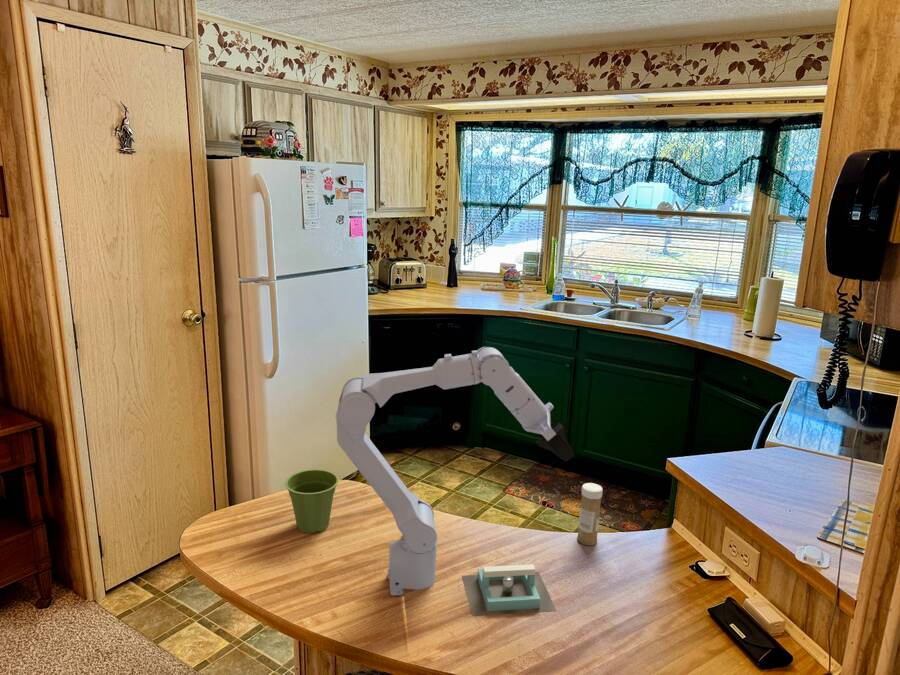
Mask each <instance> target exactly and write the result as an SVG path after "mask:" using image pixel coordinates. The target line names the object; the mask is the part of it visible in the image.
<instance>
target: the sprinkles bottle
mask: <svg viewBox="0 0 900 675" xmlns="http://www.w3.org/2000/svg"><path fill="white" fill-rule="evenodd" d="M603 491H604V490H603V486H601V485H600V484H597V483H593V482H585V483H583V485H582V486H581V500H580V501H581V502H580V506H579V507H580V509H579V518H578V532H577V537H576V539H577V542H579V543H580V544H582V545H585V546H594V545H596V544H597V542H598V531H599V525H600V524H599V522H600V512H601V502H602V497H603V493H604V492H603Z"/></svg>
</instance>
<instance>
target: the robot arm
mask: <svg viewBox="0 0 900 675" xmlns="http://www.w3.org/2000/svg"><path fill="white" fill-rule="evenodd" d="M443 357H444V358H443ZM443 357H442V358H438V359H436V360H437V361H436V362H435V363H434V364H433V365H432V366H427V367H421V368H412V369H410V368H409V369H404V370H395V371H387V372H379V373H378V372H375V373H367V374H364V375H363V376H355V377H352V378H350V379H349V380H347V381H346V382H345V384H344V385H343V387H342V390H341V393H340V396H339V399H338V406H337V410H336V414H335V420H336V440H337V443H338V446H339V447H340V448H341V450H342V451H343V452H344V453H345V455H346V456H347V457H348V459H349V460H350V461H351V463H352V464H353V465H354V466H355V468H357V470H358V471H359V473H360V474H361V475H362V476H363V478H364V480H366V482H367V484H369V485H370V486H371V488H372V490H374V491H375V493H376V494H377V496H378V497H379V498H380V500H381V501H382V502H383V504H384V505H385V506H386V507H387V508H388V510H389V511H390V512H391V514H392V516H393V518H394V522H395V524H396V526H397V529H398V530H399V531H400V533H401V534H402V535H401V536H400V539H398V540H395V541H390V542H389V550H388V551H389V554H388V555H389V557H388V569H387V579H389V580H388V581H389V582H388V583H389V592H390V595H391V596H392V597H393V596H394V597H395V596H405V592H404V589H407V590H414V591H415V590H416V591H419V590H426V589H428V588H430V587H432V586H433V584H434V583H435V581H436V575H437V574H436V570H437V553H438V552H437V550H438V549H437V548H438V540H437V539H438V533H437V532H436V527H435V519H434V516H435V514H434V509H433V507H432V506H431V504H429V503H428V502H426V501H424V500H422V499H420V498H419V496H418V495H417V494H416V493H414V492H412V491H410V489H408V487H407V486H406V485H405V484H404V482H403V481H402V479H401V478H400V477H399V476H398V474H397V473H396V472H395V470H394V469H393V467H392V466H391V465H390V464H389V462H388V461H387V460H386V458H385V457H384V456H383V454H382V453H381V452H380V450H379V449H378V448H377V447H376V445H375V444H374V442H372V440H371V439H370V437H369V436H368V434H367V433H366V430H367V426H368V424H370V422H371V420H372V418H374V415H375V413H376V412H375V411H376V405H375V404H377V405H378V406H379V408H382V407H384V406H385V404H386V403H387V402H388V401H389V399H390V398H391V397H392V396H393V395H395V394H399V393H404V392H408V391H409V392H410V391H413V390H416V389H417V390H418V389H422V388H425V387H430V386H434V385H435V386H438V387H439V388H441V389H442V390H450V389H456V388H460V387H466V386H467V387H468V386H472V385H479V384H480V383H483V384H484V385H485V386H489V387H490V388H491V389H492V390H493V393H494V395H495V396H496V397H497V398H498V399H499V400H500V401H501V403H502V404H503V405H504V406H505V407H506V408H507V409H508V411H509V412H510V413H511V414H512V415H513V417H514V418H515V419H516V420H517V421H518V422H519V424H520V425H521V427H522V428H523V430H524V431H526V432H528V433H534V434H537V435H538V436H540V437H539V438H538V439H536V440H535V442H536V444H537V445H538V447H540V448H542V449H545V450H548V451H550V452H552V453H553V454H554V455H556V456H557V457H558V458H560V459H561V460H563V461H564V462H565V463H567V462H568V461H569V460H571V459H572V458H573V457H575V452H574V451H573V449H572V447H571V445H570V443H569V442H568V440H567V437H566V434H565V429H564V426H563V425H562V424H561V423H557V425H555V426H554V423H553V422H552V420H551V411H552V410H553V409H554V405H553V404H552V403H551V402H550V401H549V402H547V403H546V404H545V403H544V402H543V401H542V400H541V399H540V398H539V397H538V396H537V394H536V393H535V392H534V391H533V390H532V388H531V387H530V386H529V385H528V384H527V383H526V381H525V380H524V379H523V378H522V377H521V376H520V374H519V373H517V371H515V369H514V368H513V367H512V366H510V362H509V361H508V360H507V359H506V358H505V357H504V355H503V353H501V352H500V351H499V350H498V349H497V348H495V347H491V346H483V347H480V348H478V349H477V350H471V353H466V354H461V355H455V356H452V353H445V354H444V356H443Z"/></svg>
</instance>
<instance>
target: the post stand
mask: <svg viewBox="0 0 900 675" xmlns="http://www.w3.org/2000/svg"><path fill="white" fill-rule="evenodd" d="M477 575H478V574H472V575H469V574H468V575H461V578H462V582H463V586H464V590H465V593H466V597H467V601H468V604H469V608H470V612H471V616H472V617H477V616H478V617H479V616H481V617H482V616H497V615H510V614H511V615H513V614H527V613H542V612H543V613H544V612H545V613H546V612H557V608H556V607H555V604H554V602H553V600H552V598H551V595H550V592H549V591H548V589H547V587H546V584H545V583H544V580H543V579H542V576H541V574H540V572H539V571H535V582H534V585H535V588H536V590H537V592H538V594H539V597H540V608H533V609H517V610H500V611H487V608H486V605H485V602H484V598H483V595H482V592H481V588H480V585H479V582H478V579H477ZM489 590H490V593H491V596H492V598H502V597H520V596H529V594H528V592H527V589H526V587H525V585H524V582H523V580H522V579H513V577H511V576H505V577H504V578H503V580H490V581H489Z"/></svg>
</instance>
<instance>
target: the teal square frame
mask: <svg viewBox="0 0 900 675" xmlns="http://www.w3.org/2000/svg"><path fill="white" fill-rule="evenodd" d="M535 572H536V566H535V564H531V563H530V564H514V565H512V564H510V565H509V564H508V565H493V566H491V565H490V566H482V568H480V569H479V568H478V569H477V574H476V575H477V579H478V582H479V585H480V588H481V592H482V595H483V598H484V602H485V605H486V608H487V611H500V610H517V609H533V608H540V597H539V594H538V592H537V590H536V588H535V585H534V582H535ZM505 576H511V577H513V579H522V580H523V582H524V585H525V587H526V589H527V592H528V594H529V596H520V597H502V598H492V596H491V593H490V590H489V581H490V580H503V578H504V577H505Z"/></svg>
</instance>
